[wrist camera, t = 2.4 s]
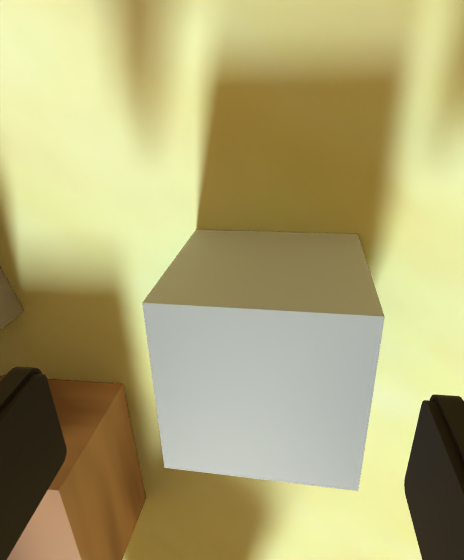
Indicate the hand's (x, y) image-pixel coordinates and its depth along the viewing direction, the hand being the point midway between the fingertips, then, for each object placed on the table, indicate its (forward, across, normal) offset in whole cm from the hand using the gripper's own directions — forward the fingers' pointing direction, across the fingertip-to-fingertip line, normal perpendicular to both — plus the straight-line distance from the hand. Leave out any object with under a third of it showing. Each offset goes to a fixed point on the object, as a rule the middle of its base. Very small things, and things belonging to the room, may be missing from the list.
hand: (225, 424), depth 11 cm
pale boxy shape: (+7, -1, 0) cm, 7 cm away
